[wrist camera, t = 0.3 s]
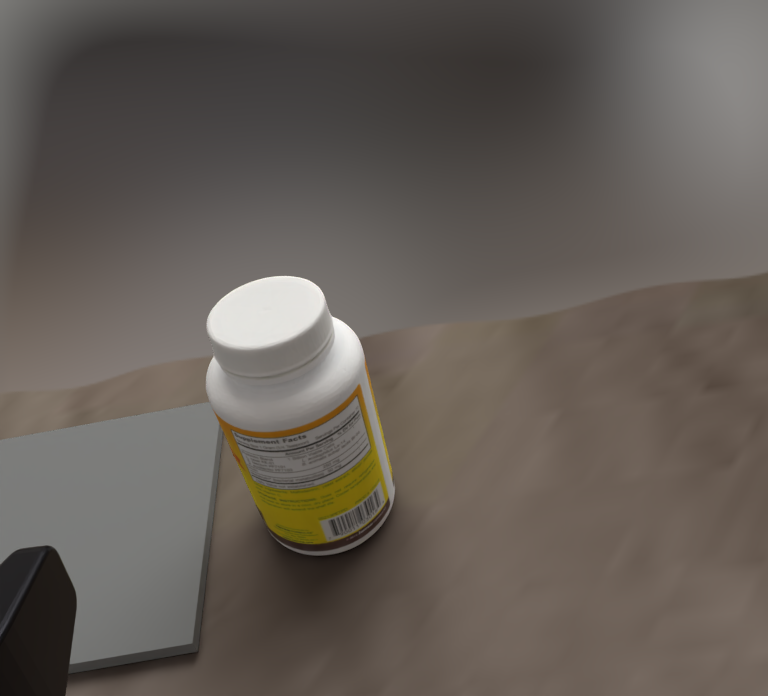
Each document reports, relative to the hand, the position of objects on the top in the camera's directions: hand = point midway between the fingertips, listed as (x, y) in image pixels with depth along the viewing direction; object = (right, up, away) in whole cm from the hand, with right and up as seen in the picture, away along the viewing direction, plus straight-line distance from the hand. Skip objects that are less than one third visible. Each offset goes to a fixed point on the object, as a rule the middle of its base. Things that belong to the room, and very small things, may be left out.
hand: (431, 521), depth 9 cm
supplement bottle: (-3, -4, +21) cm, 22 cm away
